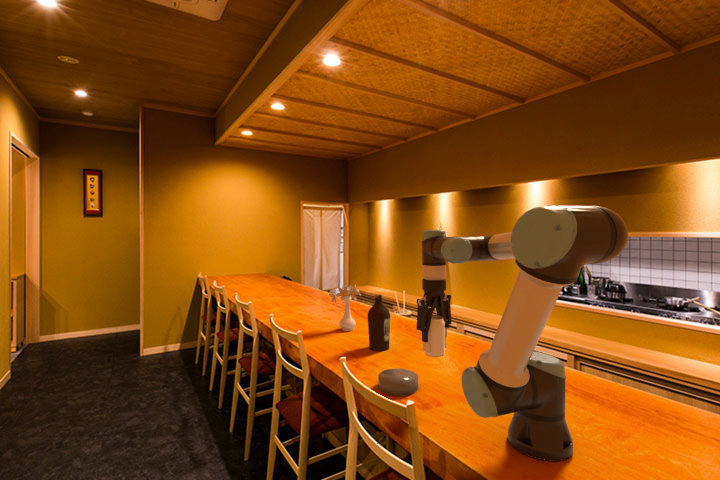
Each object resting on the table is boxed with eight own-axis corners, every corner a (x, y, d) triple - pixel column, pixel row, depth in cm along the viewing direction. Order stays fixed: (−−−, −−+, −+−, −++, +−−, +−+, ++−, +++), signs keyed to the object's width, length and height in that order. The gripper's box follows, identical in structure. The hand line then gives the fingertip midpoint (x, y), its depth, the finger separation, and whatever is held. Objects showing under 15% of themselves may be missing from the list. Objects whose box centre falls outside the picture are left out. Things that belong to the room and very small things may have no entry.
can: (429, 358, 116) (429, 320, 116) (421, 351, 123) (420, 315, 122) (448, 356, 118) (448, 318, 118) (438, 349, 124) (438, 313, 124)
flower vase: (326, 330, 206) (325, 285, 205) (352, 324, 218) (351, 282, 217) (341, 335, 196) (340, 288, 195) (367, 329, 208) (366, 284, 208)
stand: (418, 397, 124) (418, 385, 124) (376, 394, 126) (376, 383, 126) (418, 380, 138) (418, 369, 138) (380, 378, 140) (380, 367, 140)
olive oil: (364, 350, 173) (363, 296, 172) (372, 343, 182) (372, 292, 182) (386, 352, 169) (385, 297, 168) (393, 345, 178) (392, 293, 177)
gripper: (445, 274, 128) (445, 340, 129) (403, 279, 117) (404, 352, 118) (463, 276, 122) (463, 346, 123) (420, 282, 111) (421, 359, 112)
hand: (434, 349), depth 120 cm, fingers closed on can, 6 cm apart
